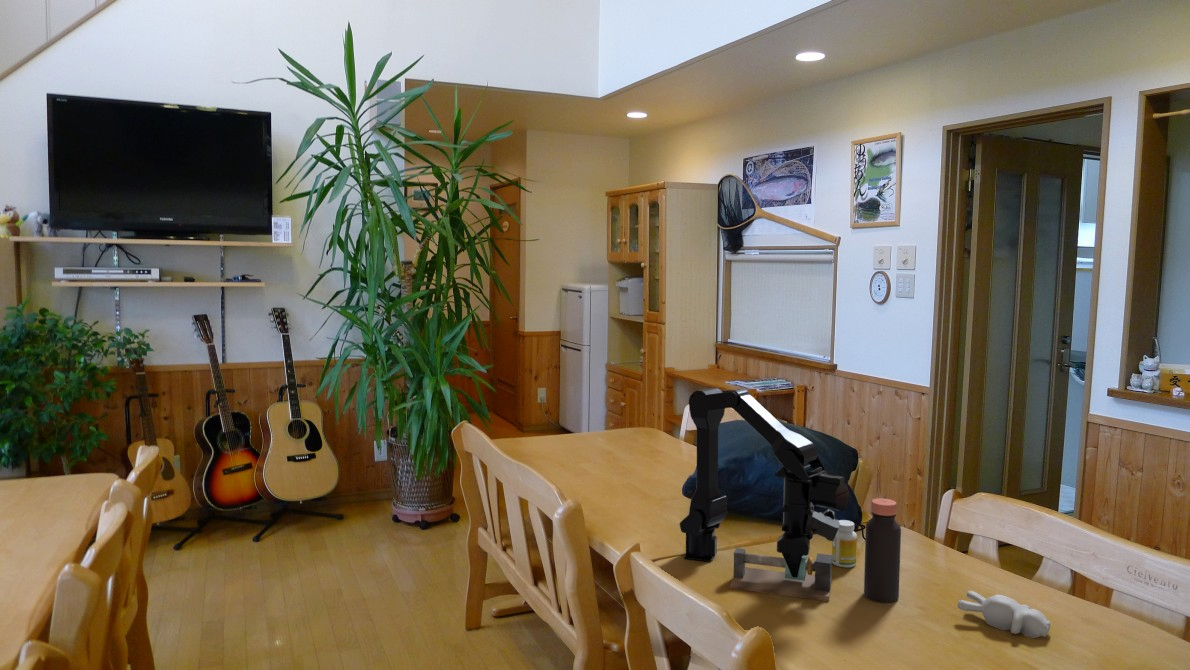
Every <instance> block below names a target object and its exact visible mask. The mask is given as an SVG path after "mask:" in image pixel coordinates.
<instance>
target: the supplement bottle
mask: <svg viewBox="0 0 1190 670" xmlns="http://www.w3.org/2000/svg"><path fill="white" fill-rule="evenodd" d="M838 522H839V523H840V525H839V529H838V531H837V534H836V536H835V538H834V541H831V555H832V564H833V565H835V566H837V567H839V568H847V569H848V568H853V567H855V566H856V564H857V549H858V548H857V547H858V546H857V545H858V535H857V533H856V532H855V531H854V530H855V523H854V522H853V521H851V520H848V519H847V520H846V519H840V520H839V519H838Z"/></svg>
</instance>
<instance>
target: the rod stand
mask: <svg viewBox="0 0 1190 670" xmlns="http://www.w3.org/2000/svg"><path fill="white" fill-rule="evenodd" d="M746 564H752V565H760V566H766V567H767V566H768V567H777V568H783V569H785V559H784V557H780V556H779V557H778V556H769V555H761V554H755V553H746V548H740V547H736V548H735V550H734V551H733V577H732V580H731V582H730V589H733V588H734V589H736V590H741V591H750V592H757V593H766V594H771V595H772V594H773V595H781V596H787V597H794V598H802V599H808V600H818V601H825V602H830V596H831V588H832V583H833V578H832V567H833V566H832V564H833V563H832V554H825V553H816V557H815V561H814V559H813V556H812V557H811V556H807V561H805V570H807V573H806V577H805V581H802V580H794V579H786V578H785V571H779V570H771V569H770V570H769V569H763V568H754V567H746ZM813 572H814V575H813ZM734 589H733V590H734Z"/></svg>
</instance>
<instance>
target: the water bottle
mask: <svg viewBox="0 0 1190 670" xmlns="http://www.w3.org/2000/svg"><path fill="white" fill-rule="evenodd" d="M870 504H871V505H870V511H871V515H872V517H871V518H870V519H869V520H868V521H867V522H866V523H865V538H864V539H865V541H864V543H865V544H864V545H865V547H864V548H865V549H864V575H863V577H864V578H863V594H864V596H865V597H866V598H867V599H869V600H871V601H873V602H878V603H888V604H889V603H894V602H896V601H898V599H899V597H900V576H901V575H900V574H901V573H900V570H901V568H900V567H901V543H902V542H901V539H902V528H901V525H900V524H899V523H898V522H897V520H896V517H897V511H898V509H897V507H898V503H897V502H896V501H895V500H893V499H889V498H880V497H879V498H877V497H876V498H873V499H871V501H870Z"/></svg>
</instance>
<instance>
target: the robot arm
mask: <svg viewBox="0 0 1190 670" xmlns="http://www.w3.org/2000/svg"><path fill="white" fill-rule="evenodd" d="M688 406H689V415H690V418H691V420H692V422H693V424H694V426H695V428H696V489H695V491H694V493H693V496H692V498H691V500H690V502H689V510H688V515H687V516H685V518H683V519H682V520H681V521H680V522H679V527H680V532H681V533H683V534H685V553H684V555H683V558H684V559H685V560H686V559H687V560H695V561H702V562H712V560H713V559H714V557H716V556H717V555H716V554H717V553H718V536H717V535H716V533H715V532H716V531H715V530H716V529H719V528H720V526H721V524H722V523H723V521H724V520H725V519H726V517H727V516H726V515H727V514H728V513H729V510H728V496H727V495H722V493H721V491H720V489H719V426H720V424H721V423H722V419H723V418H724V416H725V412H726V411H725V410H726V409H730V408H731V409H733V410H734V411H735V412H736V414H738V415H739V416H740V417H741V418H742V419H743V420H744V421H745V422H746V423H747V424H748V425H749V426H751V428H753V429H754V430H755V431H756V433H758V434H759V435H760V436H761V438H763V439H764V440H765V441H766V442H767V443H768V445H770V447H771V449H772V452H773V456H774V457H775V458H776V459H777V461H778V462H779V463H780V464H781V468H780V469H779V470H778V471H777V472H775V473H774V477H777V478H780V479H781V478H782V479H783V505H782V507H781V510H782V511H781V512H782V514H783V515H782V516H783V517H782V524H781V531H782V532H783V533H781V535H779V537H778V539H777V541H776V552H777V553H779V554H782V558H784V559H785V561H786V564H787V566H788V568H789V571H790V573H791V575H792V577H798V572H799V568H800V564H801V559H802V556H806V555H807V556H809V553H810V549H811V547H810V546H811V540H812V539H813V538H814V534H816V535H818V536H821V537H823V538H825V539H826V540H827V541H829V542H832V541H834V538H835V536H836V534H837V531H838V529H839V525H840V523H839V522H838V521H839V519H836V517H835V511H837V512H843V511H845V509H846V508H847V506H848V504H849V500H850V491H849V487H848V485H847V483H845V477H844V476H840V475H832V474H828V469H827V468H826V466H825V465H824V463H823V461H822V460H821V458H820V456H819V454H818V452H817V451H818V449H817V446H816V445H815V444H814V443H813V442H812V441H810V440H809V439H807V438H806V437H804V436H803V435H802V434H800V433H797V432H795V431H792V430H790V429H788V428H786V426H784V425H783V424H782V423H781V422H780V421H779V420H778V419H776V417H774V416H773V415H772V414H771V413H770V412H769V411H768V410H767V409H766V408H765V407H764V406H762V404H761V403H759V402H758V401H757V400H756V398H754V397H753V396H752V395H751V393H750V391H748V390H747V389H746V388H742V387H741V388H737V389H728V390H721V389H720V388H717V387H709V388H703V389H698V390H695V391H693V392H692V393H691V394H690V395H689V397H688ZM808 467H811V468H809V469H806V468H808ZM815 506H816V507H820V508H823V509H826V510H825V511H824V512H821V511H820V512H818V511H815V509H814V507H815ZM833 510H834V511H833Z"/></svg>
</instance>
